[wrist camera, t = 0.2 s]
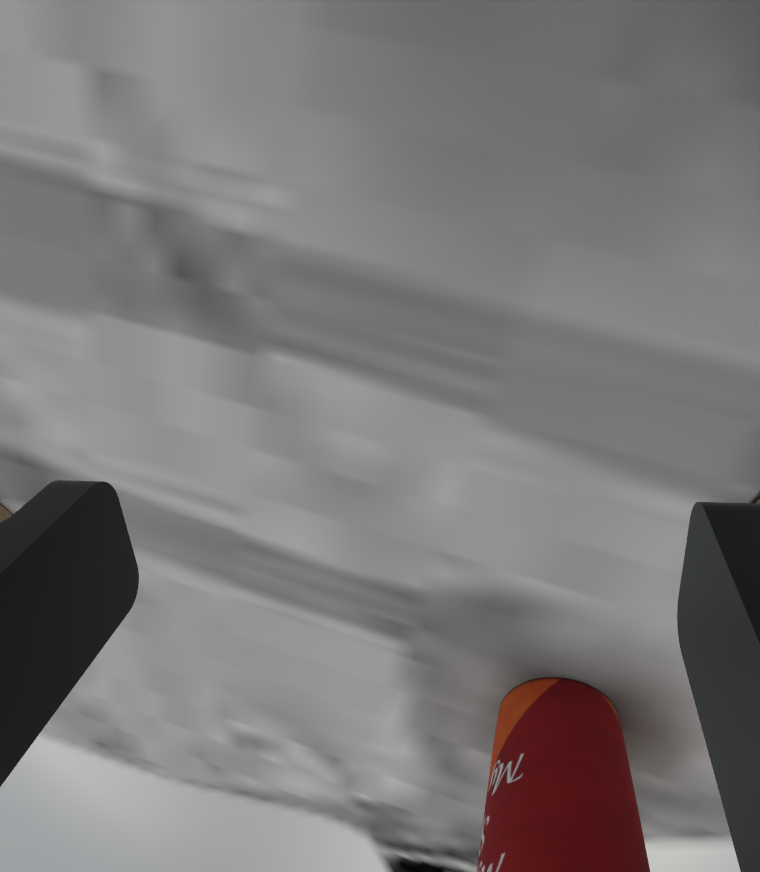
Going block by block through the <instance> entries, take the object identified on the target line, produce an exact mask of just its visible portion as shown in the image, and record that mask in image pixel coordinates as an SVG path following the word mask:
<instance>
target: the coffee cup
mask: <svg viewBox="0 0 760 872" xmlns="http://www.w3.org/2000/svg"><path fill="white" fill-rule="evenodd" d="M477 872H650V869H649V864H648V858H647V854H646V848H645V843H644V838H643V833H642V828H641V822H640V817H639V812H638V807H637V802H636V797H635V792H634V787H633V782H632V776H631V771H630V766H629V761H628V756H627V752H626V747H625V742H624V738H623V733H622V729H621V725H620V721H619V717H618V715H617V712H616V710H615V708H614V706H613V704H612V703H611V702H610V701H609V699H608V698H607V697H605V696H604V695H603V694H602V693H601V692H599V691H598V690H596V689H594V688H592V687H591V686H588V685H586V684H584V683H581V682H578V681H574V680H569V679H563V678H542V679H536V680H532V681H528V682H526V683H523V684H521V685H519V686H517V687H516V688H514V689H513V690H511V691H510V692H509V693H508V694H507V695H506V697H505V698H504V700H503V701H502V704H501V707H500V710H499V715H498V720H497V726H496V732H495V739H494V746H493V753H492V760H491V768H490V775H489V782H488V790H487V797H486V805H485V813H484V820H483V828H482V835H481V843H480V851H479V859H478V866H477Z"/></svg>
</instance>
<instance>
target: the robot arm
mask: <svg viewBox="0 0 760 872" xmlns="http://www.w3.org/2000/svg"><path fill="white" fill-rule="evenodd" d="M138 583H139V574H138V567H137V563H136V559H135V556H134V552H133V549H132V545H131V541H130V538H129V534H128V531H127V527H126V523H125V520H124V516H123V513H122V509H121V506H120V502H119V498H118V496H117V493H116V491H115V489H114V488H113V487H112V486H111V485H110V484H109V483H106V482H95V481H63V480H58V481H54V482H51V483H50V484H49V485H47V486H46V487H45V488H44V489H43V490H41V491H40V492H39V493H38V494H37V495H36V496H34V497H33V498H32V499H31V500H30V501H29V502H28V503H26V504H25V505H24V506H23V507H22V508H21V509H19V510H18V511H17V512H16V513H15V514H14V515H12V516H11V517H10V518H8V519H6V520H4V521H3V522H1V523H0V786H1V785H2V784H3V782H4V781H5V780H6V778H7V777H8V776H9V774H10V773H11V771H12V770H13V769H14V767H15V766H16V765H17V763H18V762H19V761H20V759H21V758H22V756H23V755H24V754H25V752H26V751H27V750H28V748H29V747H30V745H31V744H32V743H33V742H34V740H35V739H36V737H37V736H38V735H39V733H40V732H41V731H42V729H43V728H44V727H45V725H46V724H47V722H48V721H49V720H50V718H51V717H52V716H53V714H54V713H55V712H56V710H57V709H58V708H59V706H60V705H61V703H62V702H63V701H64V699H65V698H66V697H67V695H68V694H69V693H70V691H71V690H72V688H73V687H74V686H75V684H76V683H77V682H78V680H79V679H80V678H81V676H82V675H83V674H84V672H85V671H86V669H87V668H88V667H89V665H90V664H91V663H92V661H93V660H94V659H95V657H96V656H97V654H98V653H99V652H100V650H101V649H102V648H103V646H104V645H105V644H106V642H107V641H108V640H109V638H110V637H111V635H112V634H113V633H114V631H115V630H116V629H117V627H118V626H119V625H120V623H121V622H122V620H123V619H124V618H125V616H126V615H127V614H128V612H129V611H130V609H131V608H132V606H133V603H134V601H135V598H136V595H137V590H138ZM677 618H678V635H679V643H680V648H681V652H682V656H683V660H684V664H685V667H686V671H687V675H688V678H689V682H690V686H691V689H692V693H693V697H694V700H695V704H696V708H697V711H698V715H699V719H700V723H701V726H702V730H703V734H704V737H705V741H706V745H707V748H708V752H709V756H710V759H711V763H712V767H713V770H714V774H715V778H716V782H717V785H718V789H719V793H720V796H721V800H722V804H723V807H724V811H725V815H726V818H727V822H728V826H729V830H730V833H731V837H732V841H733V844H734V848H735V851H736V855H737V859H738V863H739V866H740V870H741V872H760V504H747V503H715V502H697V503H695V505H694V507H693V509H692V512H691V517H690V523H689V529H688V536H687V543H686V550H685V557H684V564H683V571H682V578H681V584H680V591H679V598H678V613H677Z"/></svg>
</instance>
